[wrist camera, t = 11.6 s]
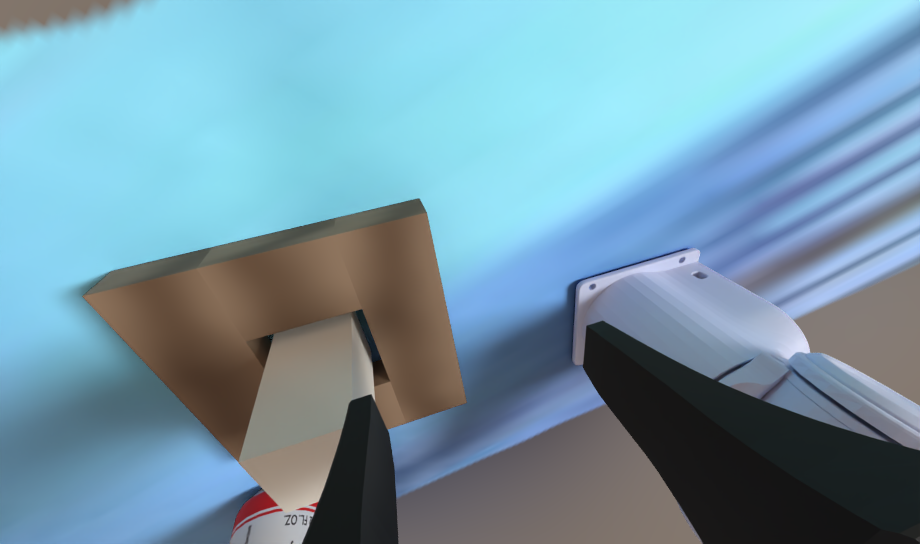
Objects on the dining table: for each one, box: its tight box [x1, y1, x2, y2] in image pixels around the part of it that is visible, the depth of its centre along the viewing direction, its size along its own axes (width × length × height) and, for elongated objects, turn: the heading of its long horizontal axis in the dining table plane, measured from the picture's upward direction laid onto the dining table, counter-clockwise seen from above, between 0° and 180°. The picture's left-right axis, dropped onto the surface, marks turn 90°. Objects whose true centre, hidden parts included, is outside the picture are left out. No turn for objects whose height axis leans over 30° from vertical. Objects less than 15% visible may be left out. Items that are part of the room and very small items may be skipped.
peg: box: [238, 311, 375, 513], centre depth 17 cm, size 4×4×8 cm
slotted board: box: [82, 199, 467, 462], centre depth 19 cm, size 14×14×2 cm
